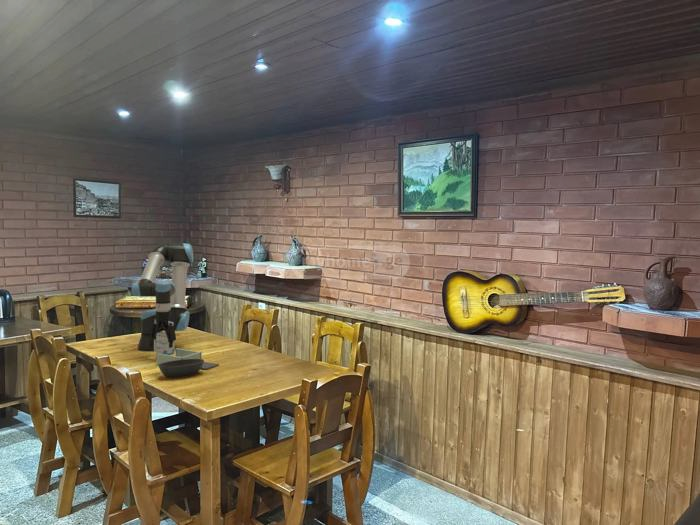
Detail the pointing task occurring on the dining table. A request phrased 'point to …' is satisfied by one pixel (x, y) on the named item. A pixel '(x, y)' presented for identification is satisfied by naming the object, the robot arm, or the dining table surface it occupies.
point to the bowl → (181, 368)
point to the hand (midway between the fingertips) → (162, 352)
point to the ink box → (162, 343)
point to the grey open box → (178, 356)
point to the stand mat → (208, 365)
